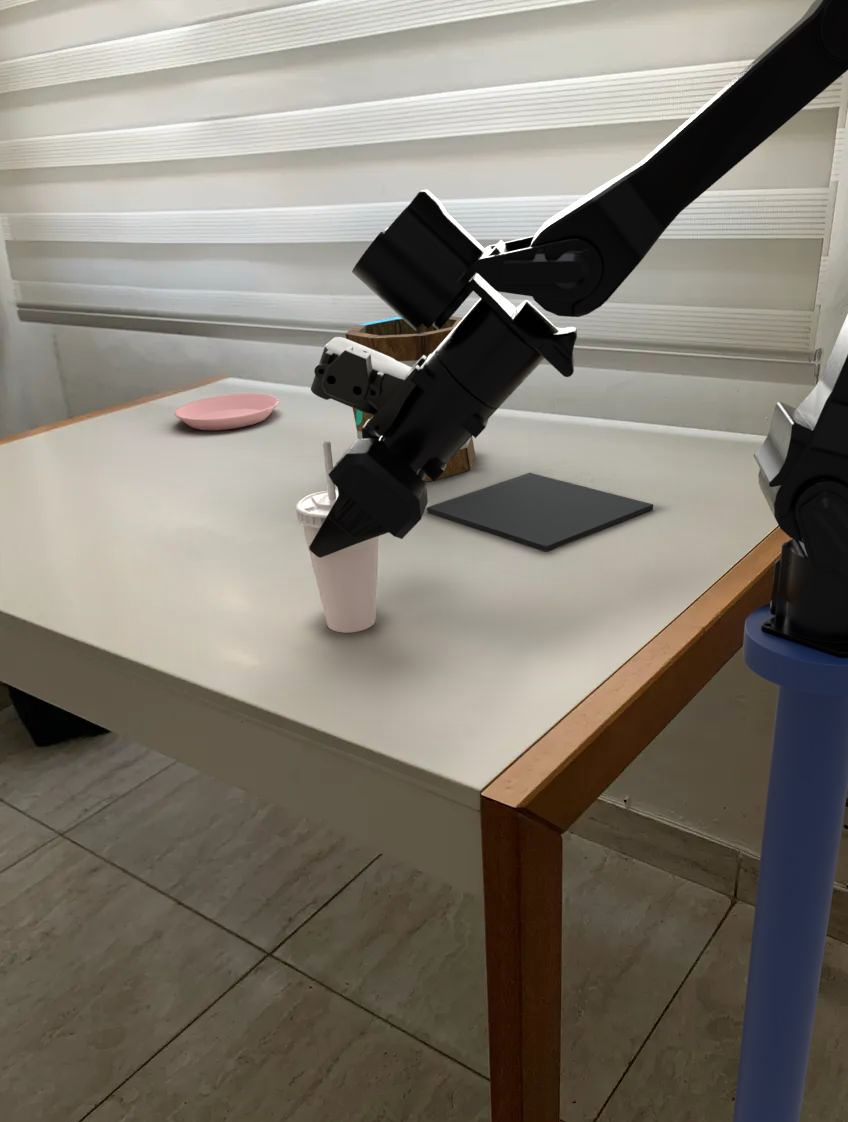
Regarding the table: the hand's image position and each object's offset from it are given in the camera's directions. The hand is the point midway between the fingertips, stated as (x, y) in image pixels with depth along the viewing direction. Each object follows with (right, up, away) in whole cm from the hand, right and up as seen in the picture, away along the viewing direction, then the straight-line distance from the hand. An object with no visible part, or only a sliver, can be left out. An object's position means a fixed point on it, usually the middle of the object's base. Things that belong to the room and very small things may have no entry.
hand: (324, 536), depth 75 cm
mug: (+8, +13, +42) cm, 44 cm away
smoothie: (+2, -6, +3) cm, 7 cm away
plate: (-16, +22, +65) cm, 71 cm away
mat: (+19, +5, +22) cm, 29 cm away
